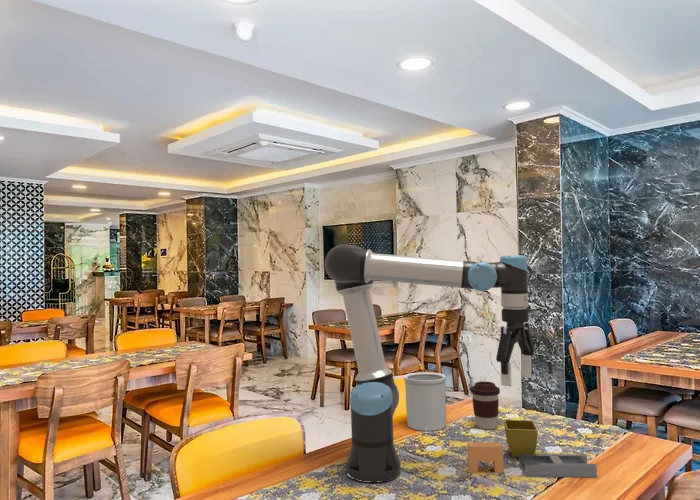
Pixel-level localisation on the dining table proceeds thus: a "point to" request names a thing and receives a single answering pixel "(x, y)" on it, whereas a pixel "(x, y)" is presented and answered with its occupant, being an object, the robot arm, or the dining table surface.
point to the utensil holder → (425, 401)
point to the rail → (556, 465)
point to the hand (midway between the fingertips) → (516, 381)
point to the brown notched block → (485, 455)
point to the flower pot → (521, 436)
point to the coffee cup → (485, 404)
